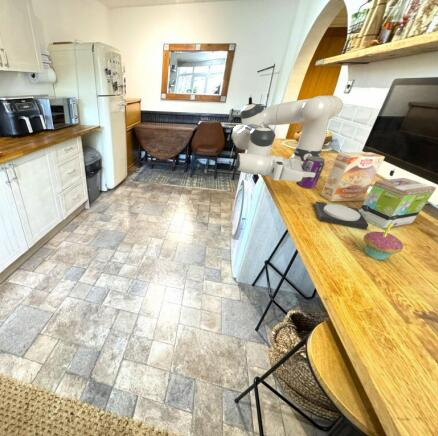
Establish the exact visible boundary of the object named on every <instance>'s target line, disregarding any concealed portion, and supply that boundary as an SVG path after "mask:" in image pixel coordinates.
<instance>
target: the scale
mask: <svg viewBox="0 0 438 436" xmlns="http://www.w3.org/2000/svg"><path fill="white" fill-rule="evenodd" d="M313 206H314V209H315V212H316V215H317V218H318V221H319V222H324V223H328V224H332V225H333V224H334V225H340V226H344V227H349V228H353V229H354V228H355V229H360V230H365V231H366V230H367V229H368V227H369V222H368V221H366V220H365V219H364V217H363V216H362V214H361V213H360V212H359V210H360V209H358V208H357V207H353V206H352V207H351V206H348V205H344V204H338V203H333V202H323V201H315V203H314V205H313Z"/></svg>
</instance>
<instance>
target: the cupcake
mask: <svg viewBox="0 0 438 436" xmlns="http://www.w3.org/2000/svg"><path fill="white" fill-rule="evenodd" d="M391 226H392V221H391V223H389V225H388V227H387V228H385V230H384V231H374V230H373V231H370V232H367V233H366V234H364V236H363V242H364V244H365V250H364V253H365V254H366V255H367V256H369V257H371V258H373V259H375V260H379V261H383V260H386V259H387V258H389V257H391V256H392V255H394V254H399V253H401V252H402V251H403V249H404V245H403V242H402V241H401V240H400V239H399V238H398V237H396V236H395V235H394V234H391V233H389V231H390V230H391V228H392V227H391Z"/></svg>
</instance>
